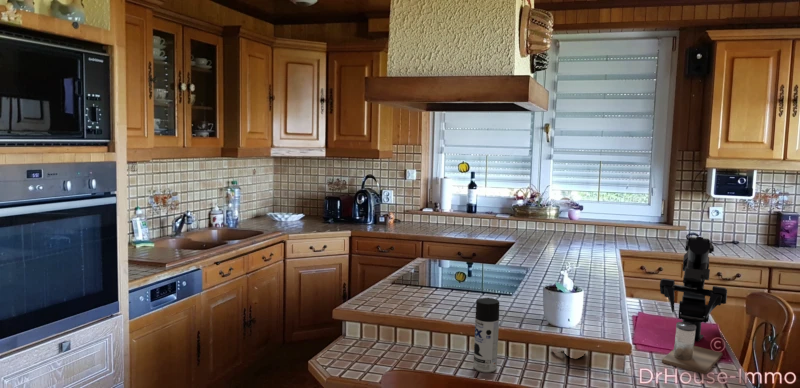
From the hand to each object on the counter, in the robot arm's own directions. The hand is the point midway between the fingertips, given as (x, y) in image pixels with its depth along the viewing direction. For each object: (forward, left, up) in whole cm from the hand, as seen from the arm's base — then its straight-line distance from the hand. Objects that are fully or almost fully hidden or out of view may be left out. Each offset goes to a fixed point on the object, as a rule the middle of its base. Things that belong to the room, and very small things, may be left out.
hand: (689, 314), depth 186 cm
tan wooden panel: (+3, +3, -13) cm, 13 cm away
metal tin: (+6, +1, -12) cm, 13 cm away
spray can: (+52, -39, -13) cm, 66 cm away
